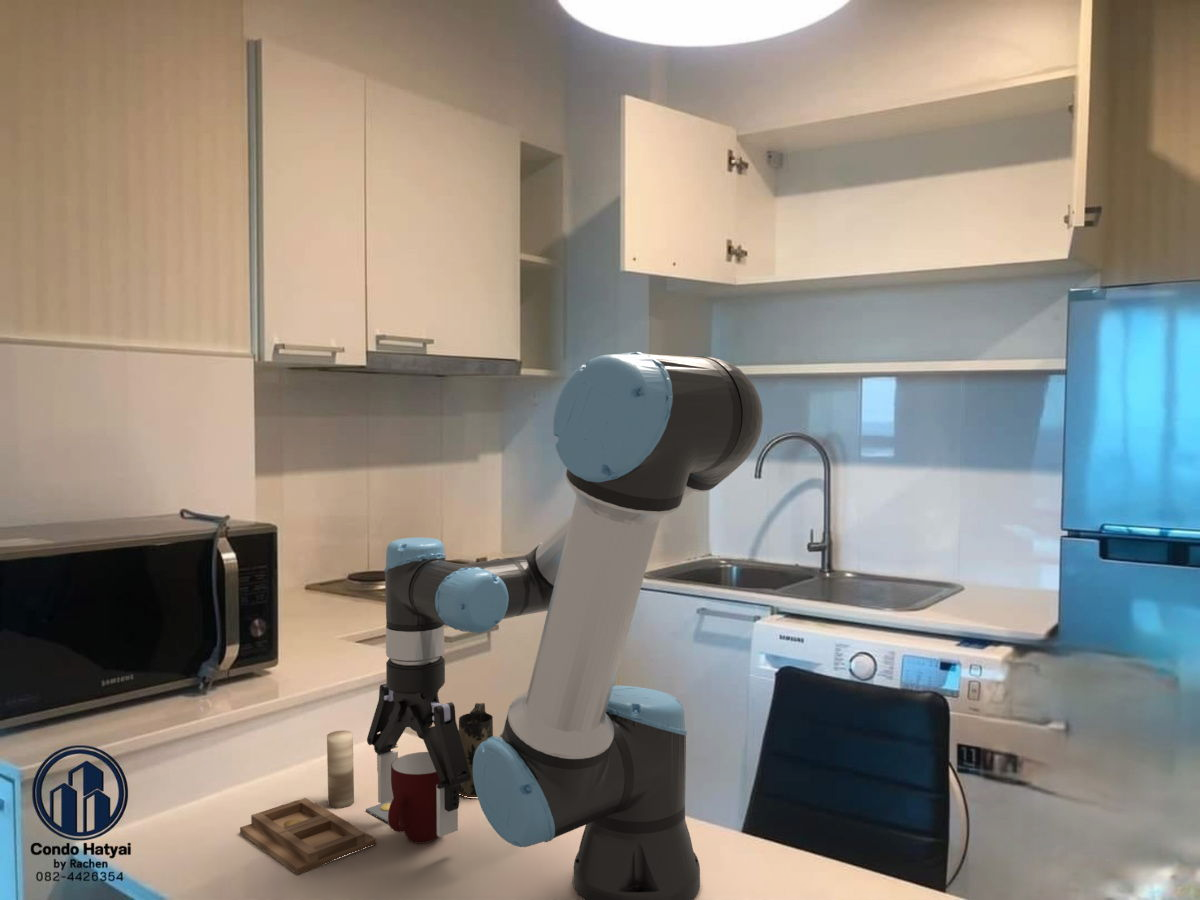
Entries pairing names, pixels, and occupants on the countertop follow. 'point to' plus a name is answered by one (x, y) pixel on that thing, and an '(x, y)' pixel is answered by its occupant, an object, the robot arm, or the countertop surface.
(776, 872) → the countertop surface
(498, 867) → the countertop surface
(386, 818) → the key tile
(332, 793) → the peg
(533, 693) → the robot arm
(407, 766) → the mug
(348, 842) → the board
